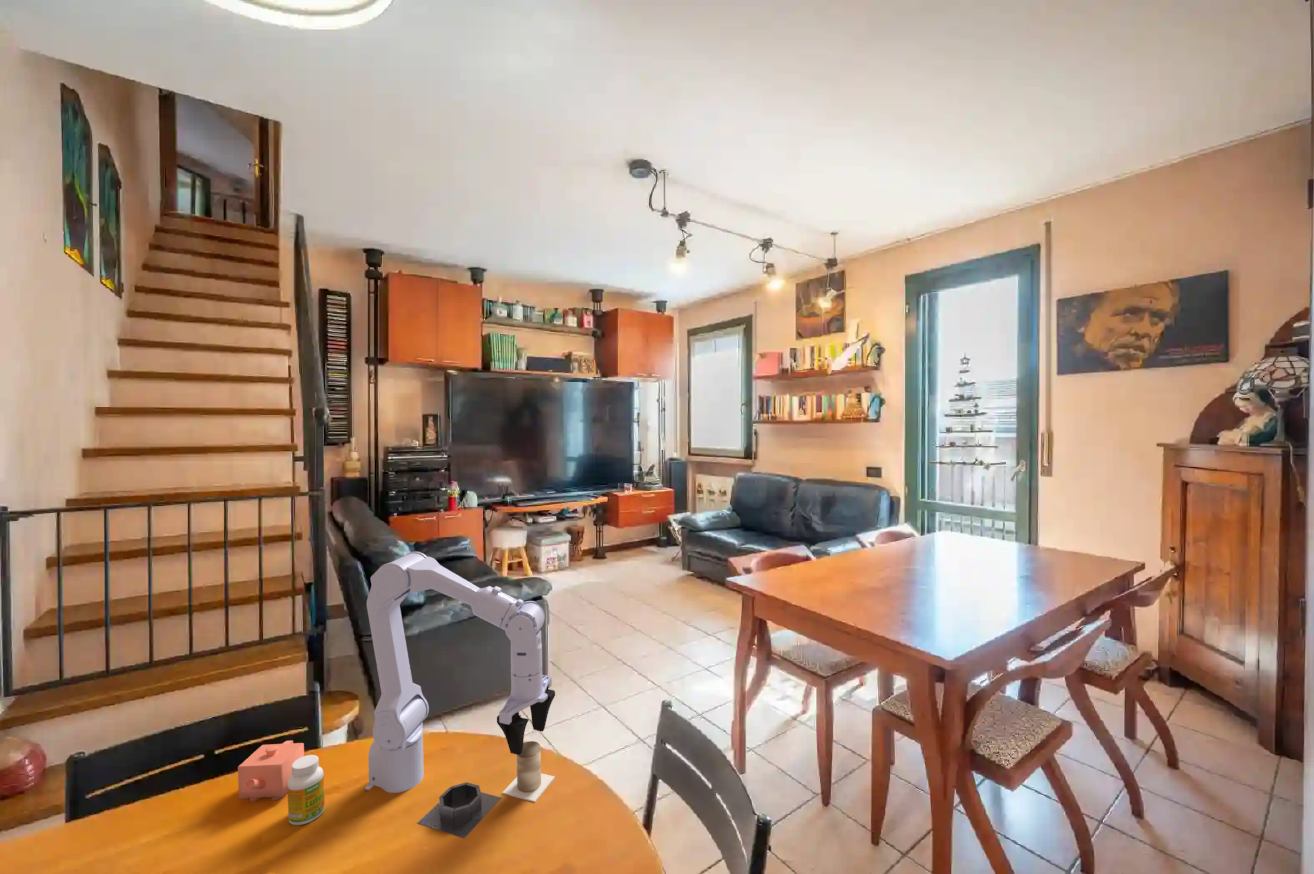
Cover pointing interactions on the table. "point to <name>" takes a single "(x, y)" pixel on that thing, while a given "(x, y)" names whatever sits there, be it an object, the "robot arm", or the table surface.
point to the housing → (459, 809)
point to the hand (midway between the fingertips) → (527, 740)
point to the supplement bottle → (305, 790)
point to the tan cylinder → (529, 767)
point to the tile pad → (529, 796)
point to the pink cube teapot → (268, 771)
